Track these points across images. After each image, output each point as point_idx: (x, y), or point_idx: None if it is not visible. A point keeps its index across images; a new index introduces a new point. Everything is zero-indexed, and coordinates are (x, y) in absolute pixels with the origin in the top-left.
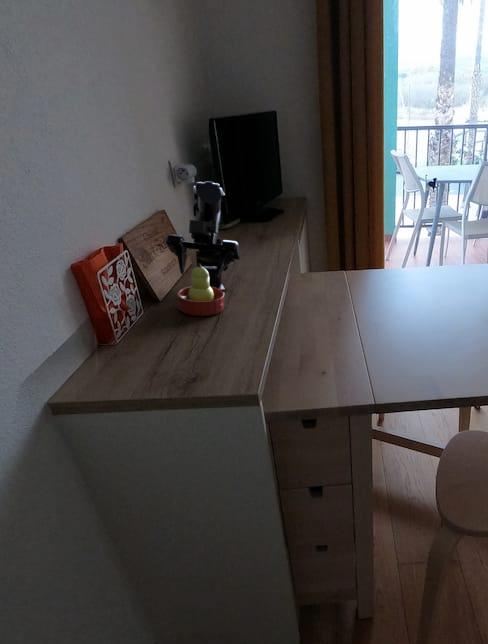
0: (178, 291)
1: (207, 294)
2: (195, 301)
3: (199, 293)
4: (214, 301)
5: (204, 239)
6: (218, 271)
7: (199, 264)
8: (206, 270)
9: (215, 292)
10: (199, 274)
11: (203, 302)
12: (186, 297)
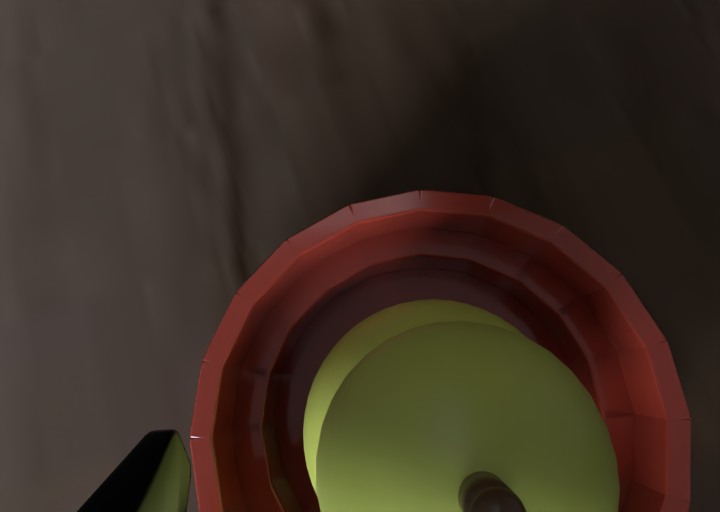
0: (682, 402)
1: (335, 349)
2: (408, 197)
3: (411, 310)
4: (247, 280)
5: None
6: (100, 494)
7: (489, 490)
8: (349, 508)
9: None
10: (426, 334)
11: (334, 212)
12: None
